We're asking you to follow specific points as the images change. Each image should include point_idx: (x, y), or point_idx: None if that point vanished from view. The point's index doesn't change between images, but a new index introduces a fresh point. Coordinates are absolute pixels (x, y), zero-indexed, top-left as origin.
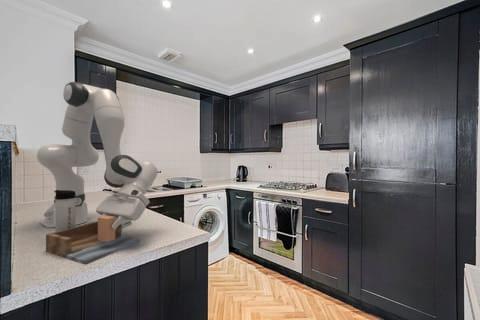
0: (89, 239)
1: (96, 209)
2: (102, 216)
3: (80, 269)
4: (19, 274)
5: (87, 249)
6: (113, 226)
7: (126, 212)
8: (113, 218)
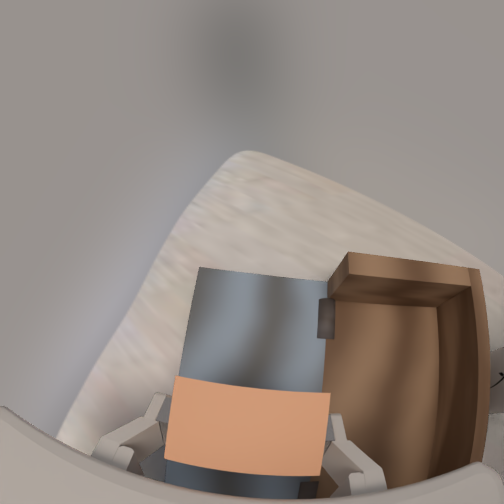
0: (406, 429)
1: (484, 467)
2: (314, 435)
3: (187, 243)
4: (329, 183)
5: (303, 352)
6: (154, 400)
7: (26, 445)
8: (170, 441)
